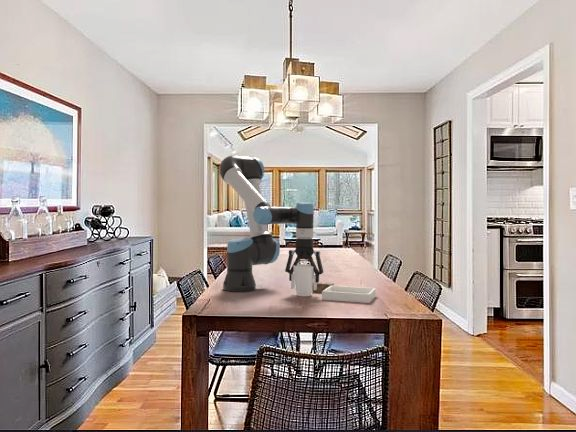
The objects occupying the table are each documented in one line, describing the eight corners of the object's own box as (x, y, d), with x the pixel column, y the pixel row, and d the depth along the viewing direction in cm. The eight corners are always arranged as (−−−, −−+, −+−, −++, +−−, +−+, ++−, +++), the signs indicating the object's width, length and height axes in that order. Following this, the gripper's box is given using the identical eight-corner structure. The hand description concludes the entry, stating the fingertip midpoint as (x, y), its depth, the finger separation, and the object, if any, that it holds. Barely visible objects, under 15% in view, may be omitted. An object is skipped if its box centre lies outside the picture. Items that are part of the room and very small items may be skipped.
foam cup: (312, 297, 221) (313, 267, 220) (291, 296, 223) (291, 266, 222) (315, 293, 230) (316, 264, 230) (295, 292, 232) (295, 263, 232)
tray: (322, 299, 217) (322, 291, 216) (331, 293, 232) (331, 285, 232) (369, 303, 210) (369, 294, 210) (375, 296, 225) (375, 288, 225)
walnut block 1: (312, 292, 234) (312, 283, 234) (313, 290, 238) (313, 282, 238) (321, 292, 234) (321, 283, 233) (321, 291, 238) (321, 282, 237)
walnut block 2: (321, 292, 234) (321, 283, 234) (326, 291, 237) (326, 282, 237) (329, 293, 231) (329, 284, 231) (333, 292, 235) (333, 283, 235)
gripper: (277, 237, 225) (277, 288, 226) (327, 239, 219) (326, 292, 219) (283, 236, 233) (282, 286, 233) (331, 238, 226) (330, 289, 226)
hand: (303, 289), depth 226 cm, fingers closed on foam cup, 9 cm apart
